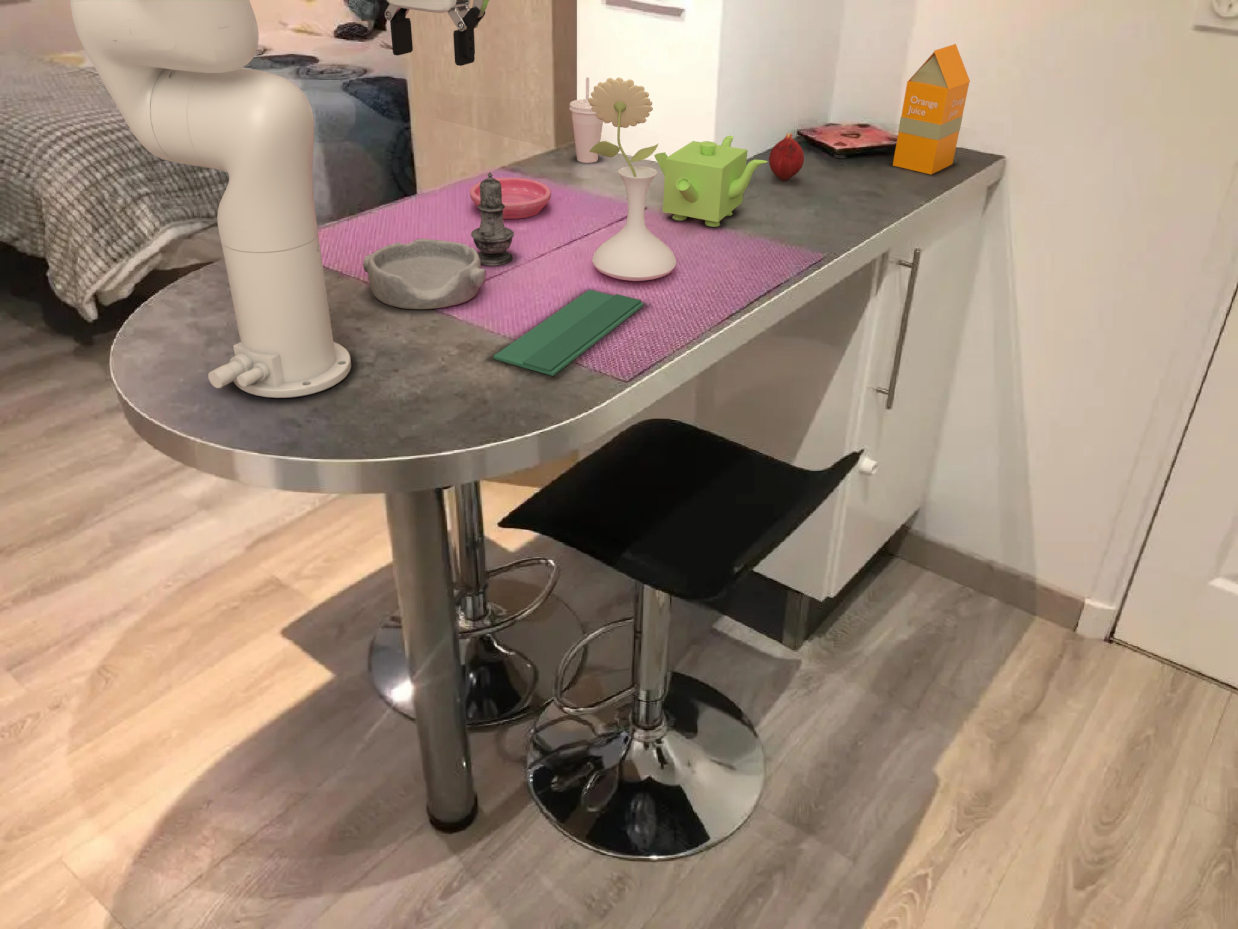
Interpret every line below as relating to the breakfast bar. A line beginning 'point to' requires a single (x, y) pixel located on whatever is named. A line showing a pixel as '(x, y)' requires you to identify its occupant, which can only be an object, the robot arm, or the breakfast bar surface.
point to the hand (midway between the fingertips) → (433, 58)
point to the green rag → (569, 332)
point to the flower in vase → (629, 188)
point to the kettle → (705, 180)
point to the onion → (786, 158)
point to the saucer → (518, 197)
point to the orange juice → (932, 113)
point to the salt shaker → (492, 225)
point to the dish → (424, 274)
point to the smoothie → (585, 128)
